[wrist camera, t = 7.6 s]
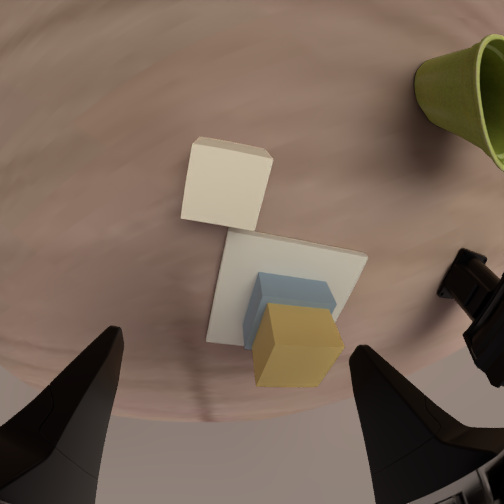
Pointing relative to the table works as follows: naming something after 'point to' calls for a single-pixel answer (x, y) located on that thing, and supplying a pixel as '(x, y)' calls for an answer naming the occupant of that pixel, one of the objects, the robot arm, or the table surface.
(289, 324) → the brick ochre
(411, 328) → the table surface
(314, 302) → the base brick
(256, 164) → the brick cream
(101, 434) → the robot arm
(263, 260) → the build plate
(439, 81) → the plant pot
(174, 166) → the table surface
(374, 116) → the table surface
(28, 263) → the table surface
